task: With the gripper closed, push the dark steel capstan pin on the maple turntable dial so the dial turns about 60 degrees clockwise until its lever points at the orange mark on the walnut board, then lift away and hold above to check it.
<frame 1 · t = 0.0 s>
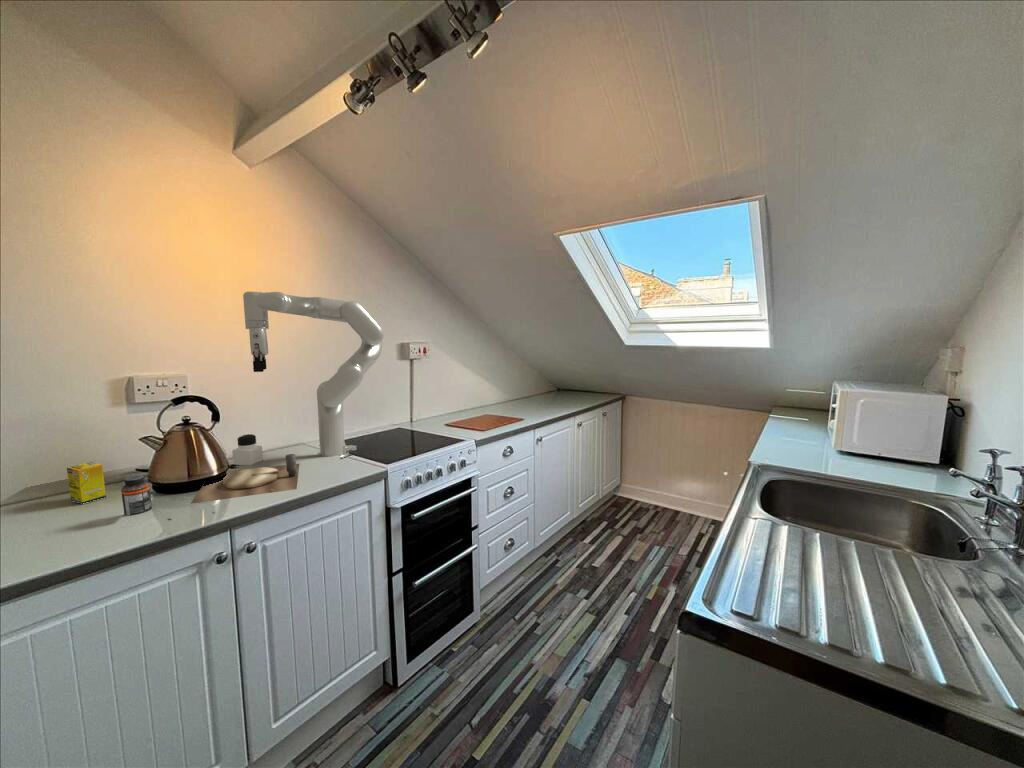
hand: (260, 370, 160), 37 cm above the worktop, tool pointing down, fingers open, 9 cm apart
walnut board: (252, 485, 142), on the worktop
capstan dial: (260, 468, 143), point 5 cm above the worktop, hinge at 0.0°
supplement bottle: (138, 516, 119), on the worktop
medicine bottle: (248, 466, 162), on the worktop
supplement box: (89, 500, 130), on the worktop
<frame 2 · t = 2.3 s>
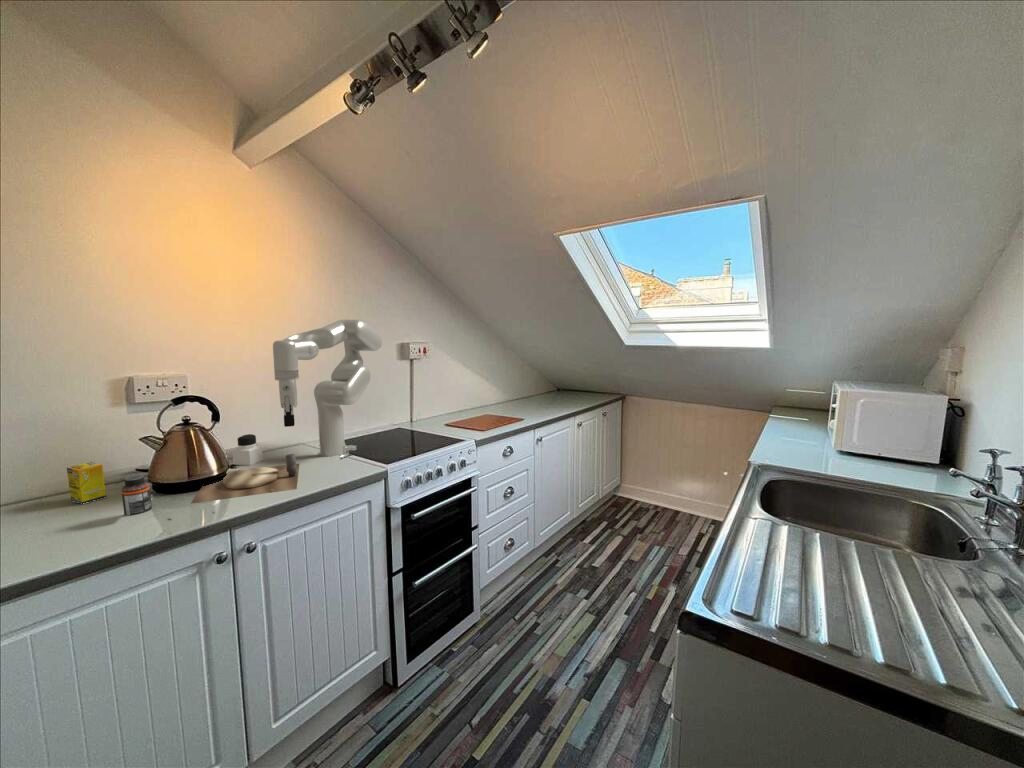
hand: (289, 425, 151), 18 cm above the worktop, tool pointing down, fingers closed
nothing on the worktop moved.
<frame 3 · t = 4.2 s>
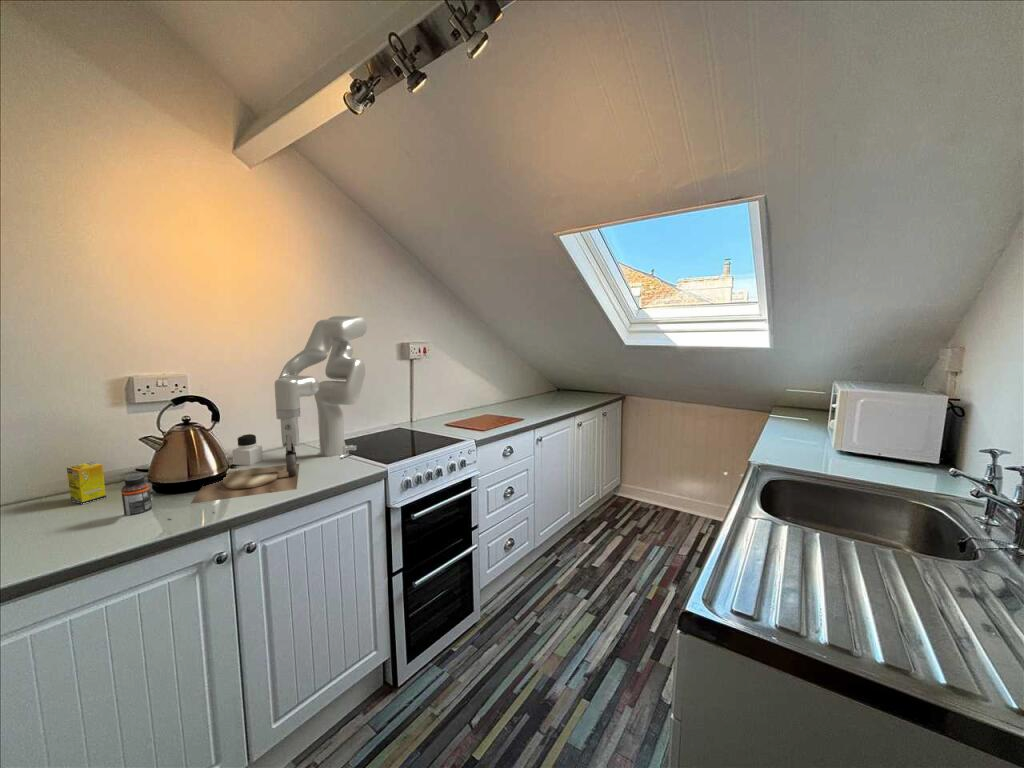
hand: (291, 463, 150), 5 cm above the worktop, tool pointing down, fingers closed
capstan dial: (260, 468, 143), point 5 cm above the worktop, hinge at -1.1°, touching gripper
everything else where it was.
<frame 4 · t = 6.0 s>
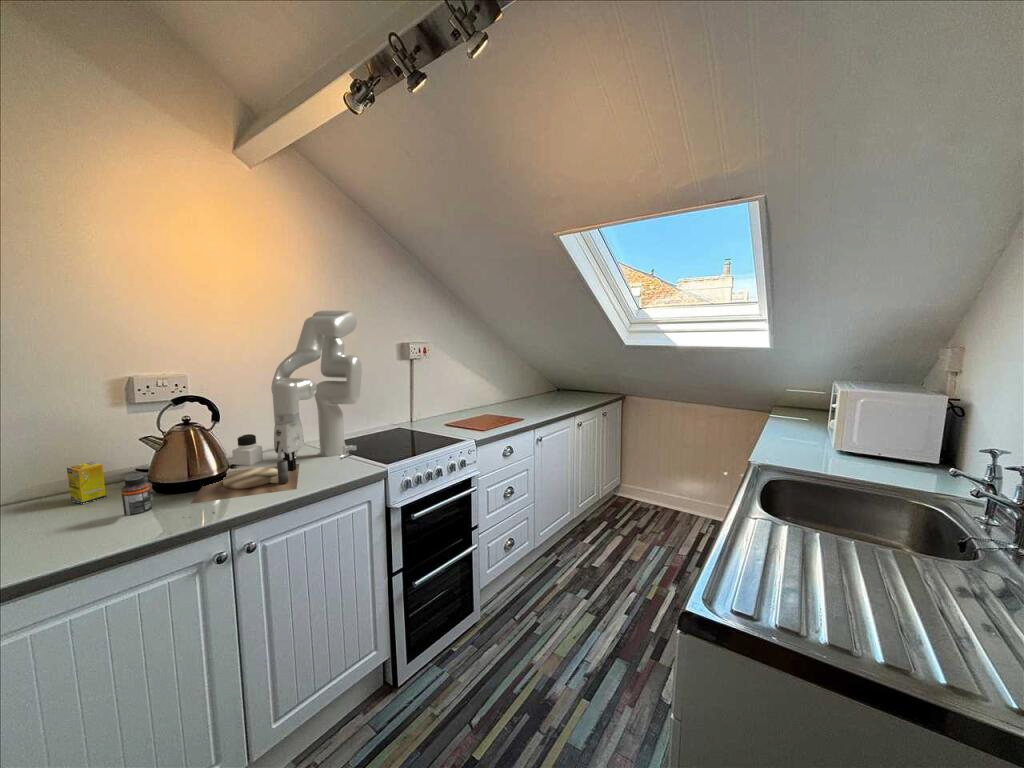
hand: (290, 470, 144), 5 cm above the worktop, tool pointing down, fingers closed
capstan dial: (258, 470, 141), point 5 cm above the worktop, hinge at -34.5°, touching gripper
everything else where it was.
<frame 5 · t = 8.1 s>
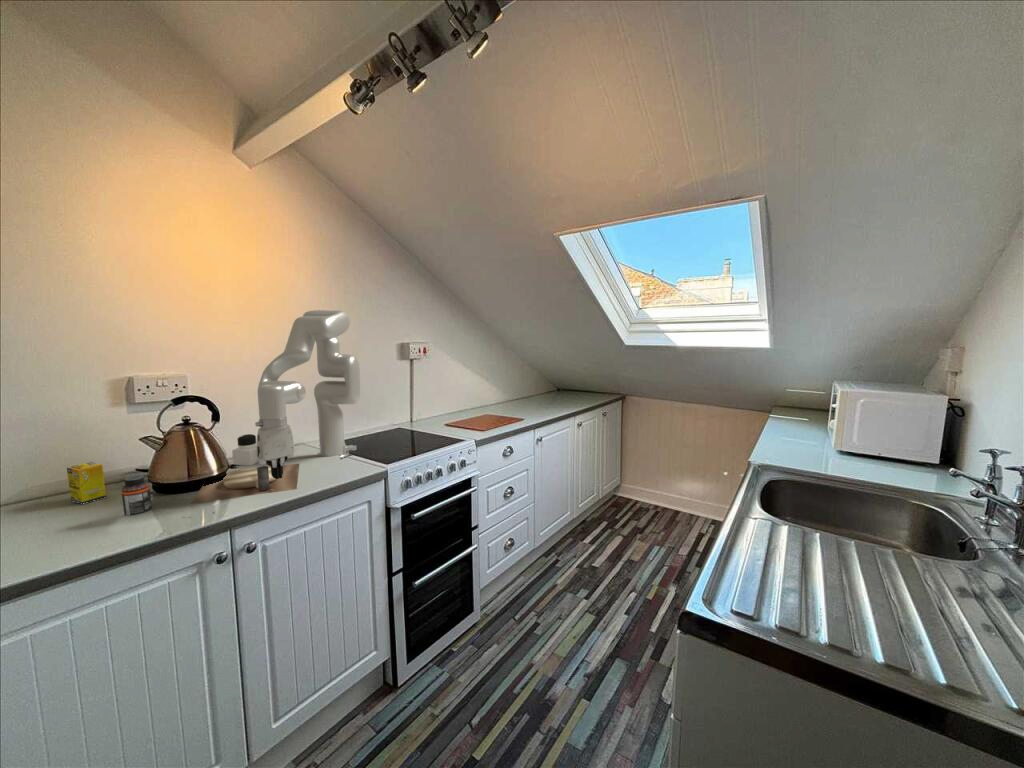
hand: (277, 477, 137), 4 cm above the worktop, tool pointing down, fingers closed
capstan dial: (253, 471, 140), point 5 cm above the worktop, hinge at -67.2°, touching gripper
everything else where it was.
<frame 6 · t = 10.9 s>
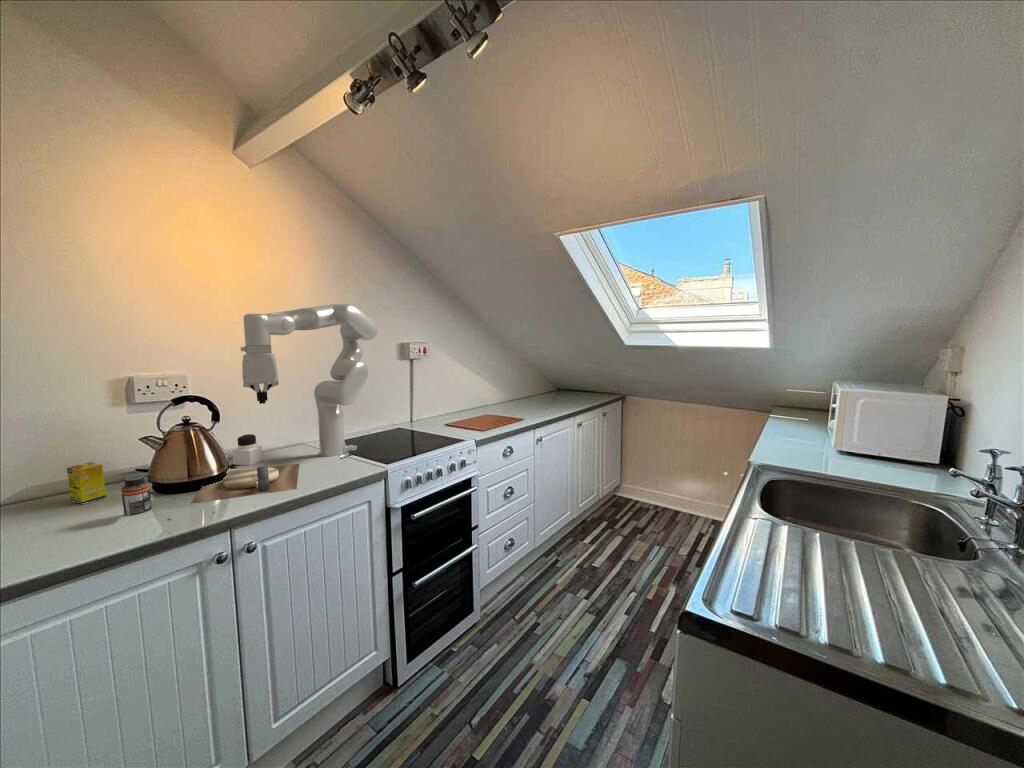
hand: (262, 403, 146), 27 cm above the worktop, tool pointing down, fingers closed
capstan dial: (253, 471, 140), point 5 cm above the worktop, hinge at -67.3°
everything else where it was.
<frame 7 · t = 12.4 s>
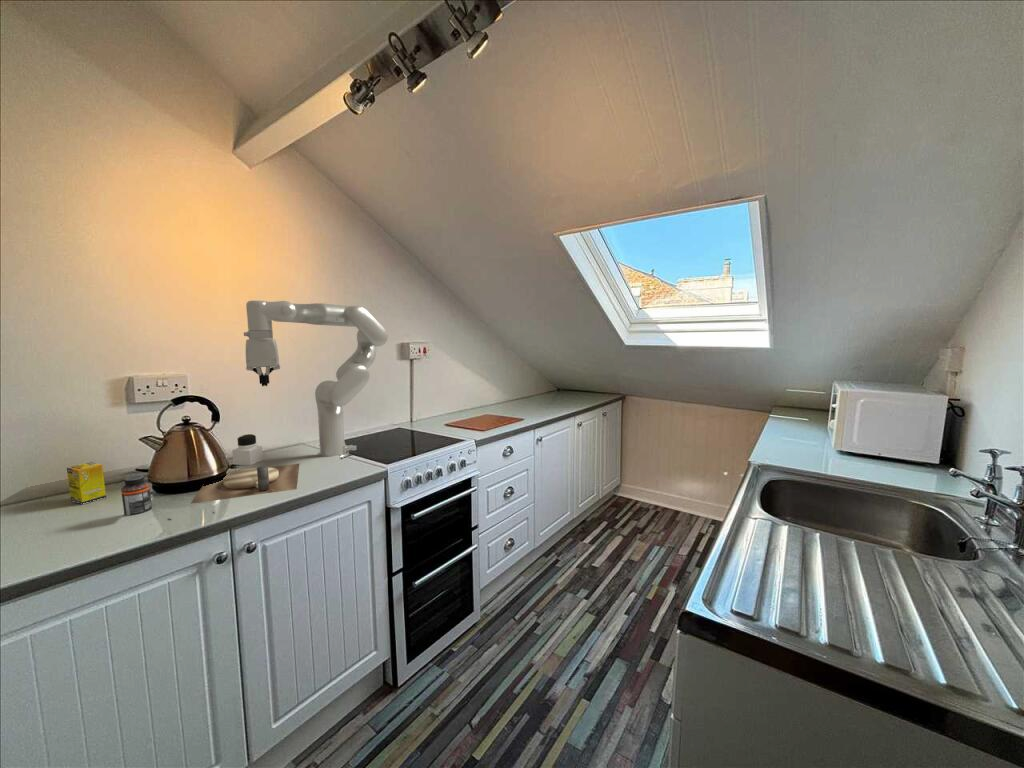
hand: (264, 385, 154), 32 cm above the worktop, tool pointing down, fingers closed
nothing on the worktop moved.
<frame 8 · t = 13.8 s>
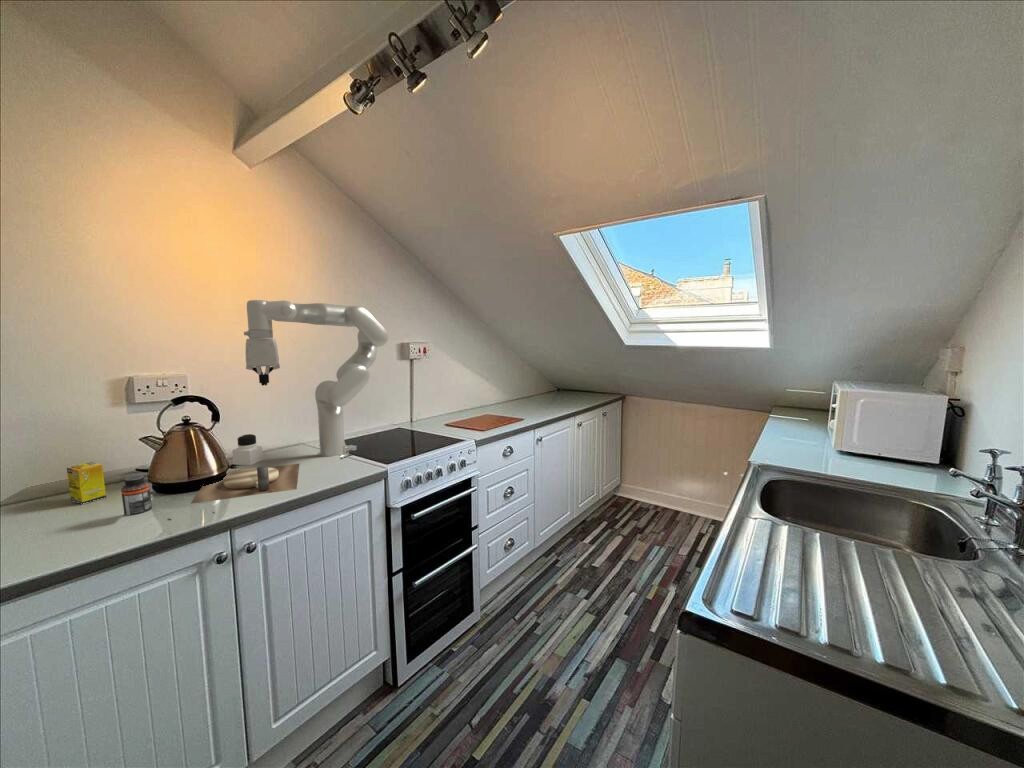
hand: (264, 385, 154), 32 cm above the worktop, tool pointing down, fingers closed
nothing on the worktop moved.
at the end: capstan dial at -67° (first picture: +0°); medicine bottle moved 0.2 cm from its start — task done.
